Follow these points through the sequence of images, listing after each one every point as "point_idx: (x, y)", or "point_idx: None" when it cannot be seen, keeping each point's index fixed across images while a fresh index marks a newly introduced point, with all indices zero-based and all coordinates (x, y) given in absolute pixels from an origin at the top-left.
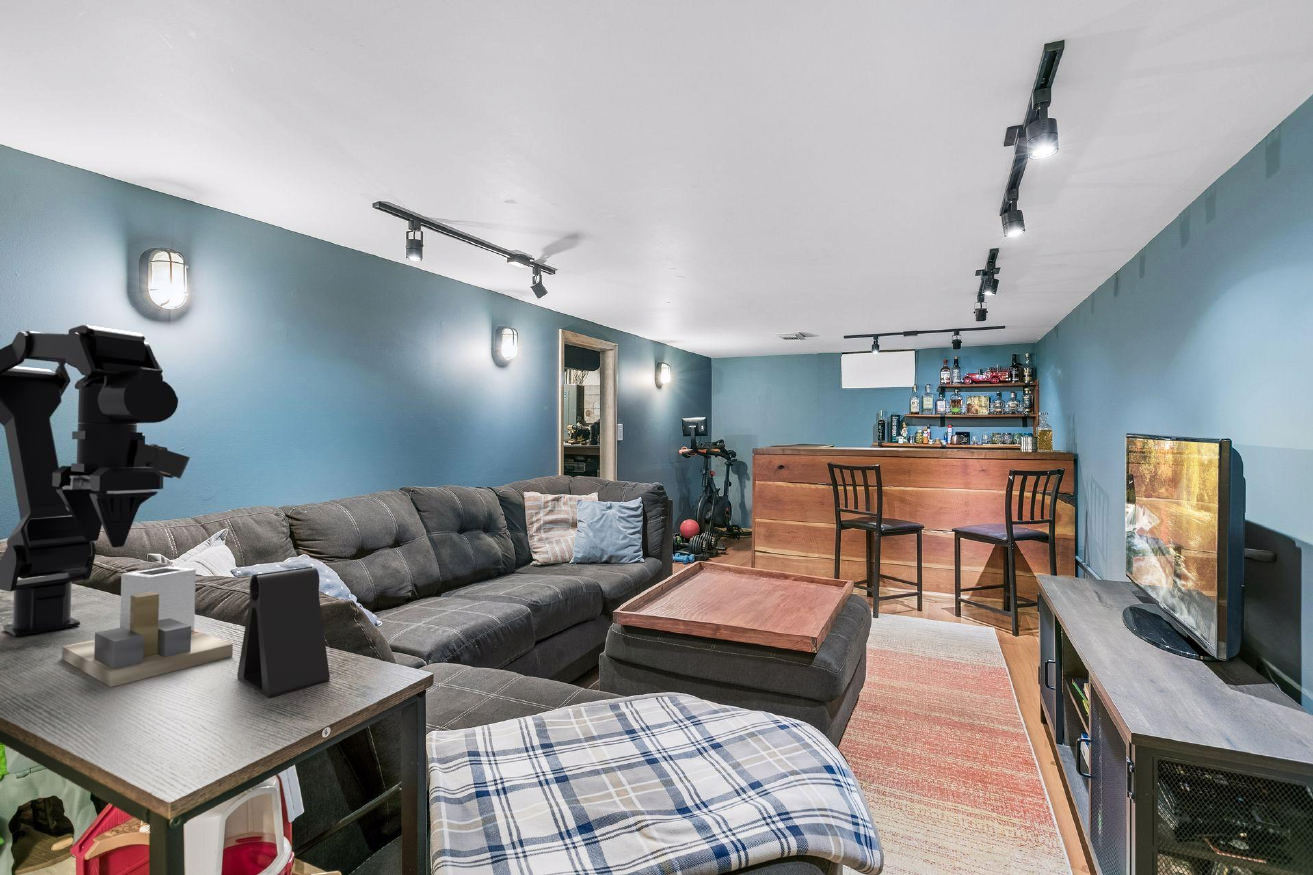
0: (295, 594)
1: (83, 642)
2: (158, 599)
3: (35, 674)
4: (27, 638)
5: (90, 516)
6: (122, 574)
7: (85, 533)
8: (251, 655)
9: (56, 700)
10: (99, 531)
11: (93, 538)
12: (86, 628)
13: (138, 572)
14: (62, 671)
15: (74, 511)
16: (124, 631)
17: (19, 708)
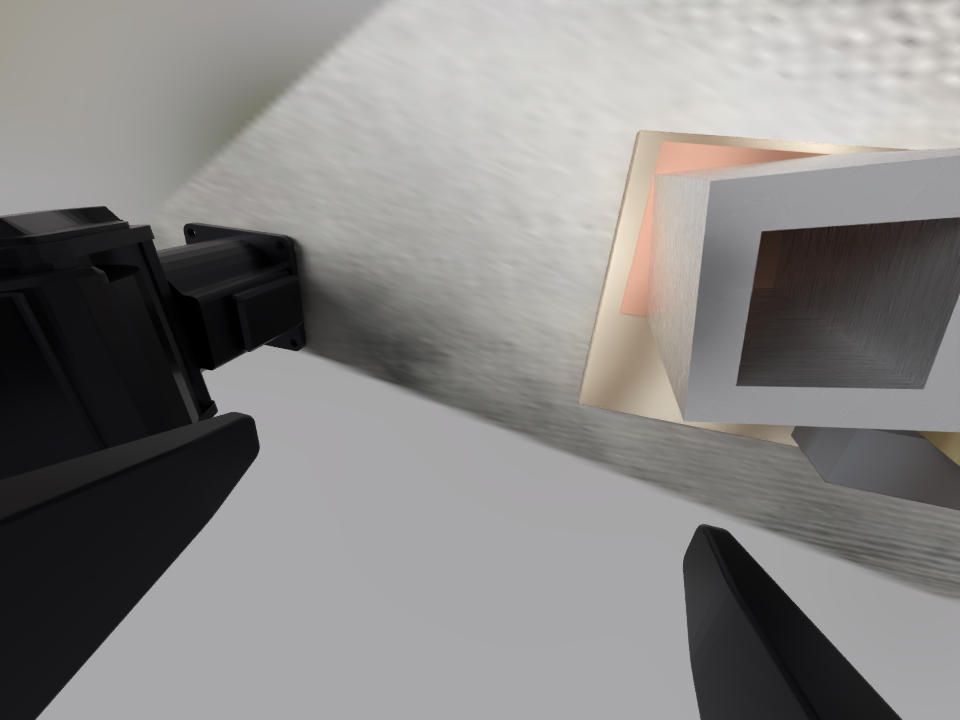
0: None
1: (591, 370)
2: None
3: (649, 455)
4: (327, 338)
5: (87, 569)
6: (691, 419)
7: (224, 493)
8: None
9: (889, 523)
10: (204, 441)
11: (244, 438)
12: (327, 238)
13: (734, 372)
14: (686, 430)
15: (64, 684)
16: (924, 453)
17: (853, 555)
